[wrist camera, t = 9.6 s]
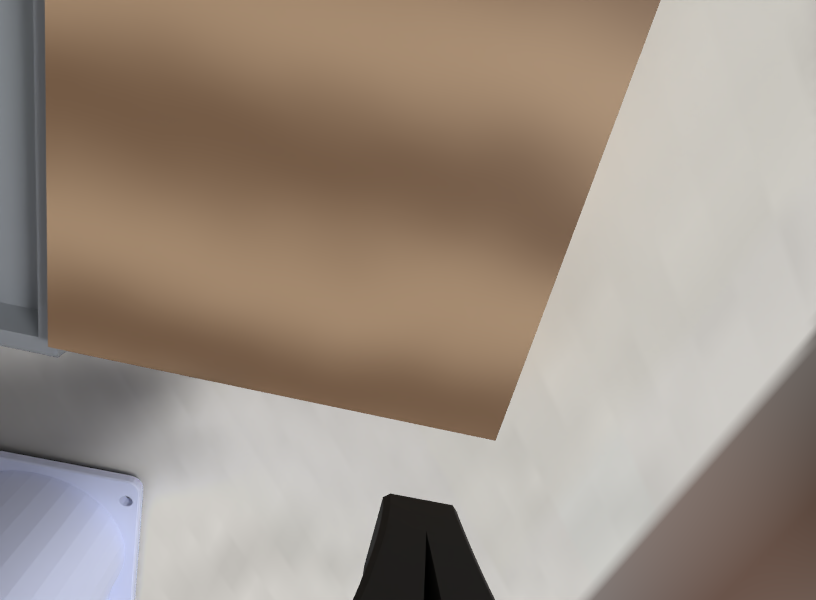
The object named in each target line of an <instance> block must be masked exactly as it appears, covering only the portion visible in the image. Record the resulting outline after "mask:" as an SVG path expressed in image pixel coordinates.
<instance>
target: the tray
mask: <svg viewBox="0 0 816 600" xmlns="http://www.w3.org/2000/svg"><path fill="white" fill-rule="evenodd" d="M0 346H5V347H10V348H15V349H20V350H24V351H29V352H34V353H39V354H44V355H48V356H53V357H59V356H60V355H62V354H63V353H64V352H65V350H60V349H56V348H51V347H48V306H47V194H46V82H45V0H0Z"/></svg>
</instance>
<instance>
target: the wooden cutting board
mask: <svg viewBox="0 0 816 600" xmlns="http://www.w3.org/2000/svg"><path fill="white" fill-rule="evenodd" d="M659 3H660V0H45V82H46V194H47V306H48V347H51V348H56V349H60V350H65V351H70V352H75V353H79V354H84V355H89V356H94V357H99V358H103V359H108V360H113V361H118V362H122V363H127V364H132V365H137V366H142V367H146V368H151V369H156V370H161V371H165V372H170V373H175V374H180V375H185V376H189V377H194V378H199V379H204V380H208V381H213V382H218V383H223V384H228V385H232V386H237V387H242V388H247V389H251V390H256V391H261V392H266V393H271V394H275V395H280V396H285V397H290V398H294V399H299V400H304V401H309V402H314V403H318V404H323V405H328V406H333V407H337V408H342V409H347V410H352V411H357V412H361V413H366V414H371V415H376V416H380V417H385V418H390V419H395V420H400V421H404V422H409V423H414V424H419V425H423V426H428V427H433V428H438V429H443V430H447V431H452V432H457V433H462V434H466V435H471V436H476V437H481V438H486V439H490V440H496V438H497V435H498V432H499V430H500V427H501V424H502V422H503V419H504V416H505V414H506V411H507V408H508V406H509V403H510V400H511V398H512V395H513V392H514V390H515V387H516V384H517V382H518V379H519V376H520V374H521V371H522V368H523V366H524V363H525V360H526V358H527V355H528V352H529V350H530V347H531V344H532V342H533V339H534V336H535V334H536V331H537V328H538V326H539V323H540V320H541V318H542V315H543V312H544V310H545V307H546V304H547V302H548V299H549V296H550V294H551V291H552V288H553V286H554V283H555V280H556V278H557V275H558V272H559V270H560V267H561V264H562V262H563V259H564V256H565V254H566V251H567V248H568V246H569V243H570V240H571V238H572V235H573V232H574V230H575V227H576V224H577V222H578V219H579V216H580V214H581V211H582V208H583V206H584V203H585V200H586V198H587V195H588V192H589V190H590V187H591V184H592V182H593V179H594V176H595V174H596V171H597V168H598V166H599V163H600V160H601V158H602V155H603V152H604V150H605V147H606V144H607V142H608V139H609V136H610V134H611V131H612V128H613V126H614V123H615V120H616V118H617V115H618V112H619V110H620V107H621V104H622V102H623V99H624V96H625V94H626V91H627V88H628V86H629V83H630V80H631V78H632V75H633V72H634V70H635V67H636V64H637V62H638V59H639V56H640V54H641V51H642V48H643V46H644V43H645V40H646V38H647V35H648V32H649V30H650V27H651V24H652V22H653V19H654V16H655V14H656V11H657V8H658V6H659Z"/></svg>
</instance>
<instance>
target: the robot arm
mask: <svg viewBox="0 0 816 600" xmlns="http://www.w3.org/2000/svg"><path fill="white" fill-rule="evenodd" d="M126 496H127V497H130V498H131V499H129V498H127V497H126ZM142 500H143V484H142V482H141V481H140V480H139V479H138V478H137V477H134V476H130V475H125V474H120V473H115V472H109V471H104V470H99V469H94V468H88V467H83V466H78V465H73V464H68V463H62V462H57V461H52V460H47V459H41V458H36V457H31V456H26V455H21V454H15V453H10V452H5V451H0V600H135V593H136V579H137V566H138V553H139V540H140V527H141V513H142ZM353 600H495V599H494V597H493V595H492V593H491V591H490V589H489V587H488V584H487V582H486V580H485V578H484V576H483V574H482V572H481V569H480V567H479V565H478V563H477V560H476V558H475V556H474V553H473V551H472V549H471V546H470V544H469V542H468V539H467V537H466V535H465V532H464V530H463V527H462V525H461V522H460V520H459V517H458V514H457V512H456V510H455V509H454V507H453V505H448V504H443V503H437V502H432V501H427V500H421V499H416V498H411V497H405V496H400V495H394V494H389V495H387V496H385V497H383V500H382V503H381V507H380V511H379V514H378V518H377V522H376V525H375V529H374V532H373V536H372V540H371V543H370V547H369V551H368V554H367V558H366V562H365V565H364V571H363V577H362V580H361V582H360V585H359V587H358V589H357V592H356V594H355V596H354V598H353Z"/></svg>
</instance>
